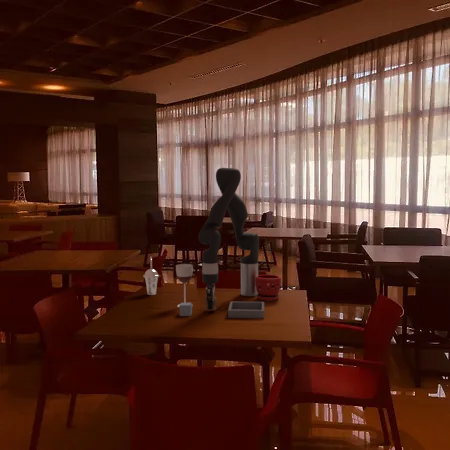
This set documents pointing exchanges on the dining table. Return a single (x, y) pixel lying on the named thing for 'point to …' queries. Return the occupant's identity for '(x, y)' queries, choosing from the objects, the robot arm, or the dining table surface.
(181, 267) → the wineglass
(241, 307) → the tray
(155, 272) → the cup with straw
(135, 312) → the dining table surface
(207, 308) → the walnut block
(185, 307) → the slate block
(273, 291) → the plant pot
